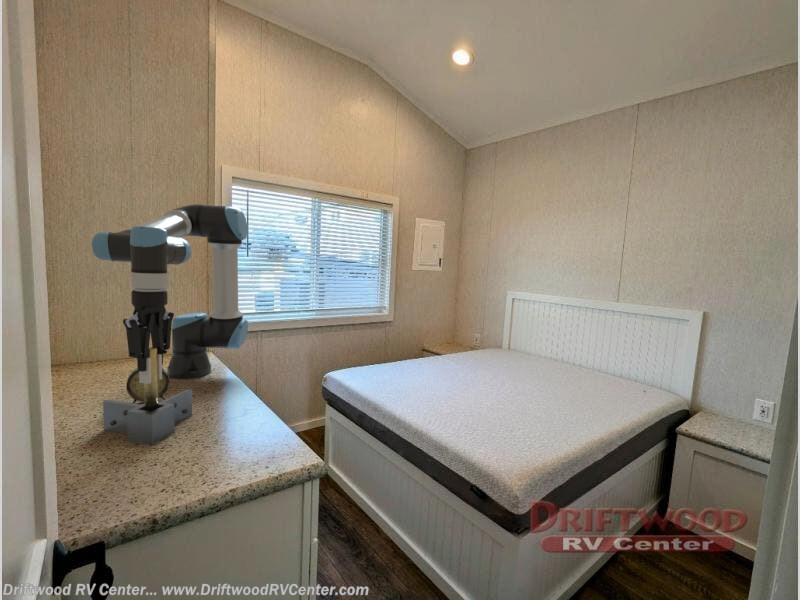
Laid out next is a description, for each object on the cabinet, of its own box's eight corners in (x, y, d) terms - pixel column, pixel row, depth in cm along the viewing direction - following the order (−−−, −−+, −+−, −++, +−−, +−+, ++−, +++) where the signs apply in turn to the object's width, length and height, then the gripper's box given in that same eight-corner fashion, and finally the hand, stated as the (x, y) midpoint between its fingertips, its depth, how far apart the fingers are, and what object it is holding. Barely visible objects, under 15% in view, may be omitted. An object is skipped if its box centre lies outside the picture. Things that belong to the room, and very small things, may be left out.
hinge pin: (151, 402, 99) (150, 346, 97) (160, 403, 99) (159, 347, 97) (142, 406, 96) (141, 349, 95) (151, 407, 96) (150, 350, 94)
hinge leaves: (149, 408, 115) (148, 383, 114) (201, 416, 112) (201, 390, 111) (93, 435, 97) (92, 405, 96) (152, 445, 94) (152, 414, 94)
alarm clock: (126, 408, 114) (125, 355, 112) (127, 401, 118) (126, 351, 116) (169, 402, 120) (168, 352, 118) (168, 396, 124) (168, 348, 122)
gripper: (161, 286, 102) (162, 370, 105) (107, 291, 87) (109, 389, 90) (186, 288, 101) (186, 373, 104) (135, 293, 86) (137, 393, 88)
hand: (150, 380), depth 97 cm, fingers closed on hinge pin, 3 cm apart
